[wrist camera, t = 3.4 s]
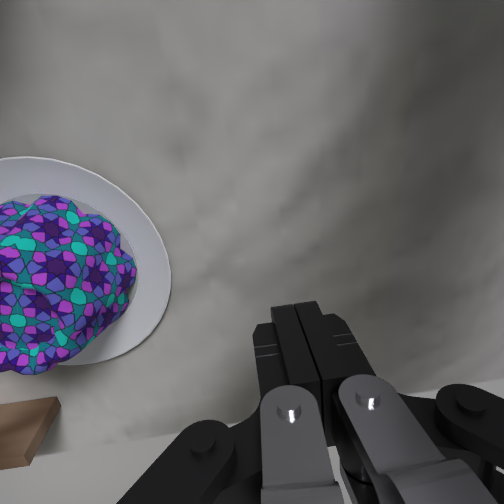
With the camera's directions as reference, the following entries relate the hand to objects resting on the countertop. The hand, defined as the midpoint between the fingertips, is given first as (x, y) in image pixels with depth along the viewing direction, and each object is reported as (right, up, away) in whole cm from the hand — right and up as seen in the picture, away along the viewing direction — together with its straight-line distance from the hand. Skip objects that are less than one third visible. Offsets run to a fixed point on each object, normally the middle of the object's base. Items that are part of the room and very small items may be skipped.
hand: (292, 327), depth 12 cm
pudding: (-12, +2, +8) cm, 14 cm away
